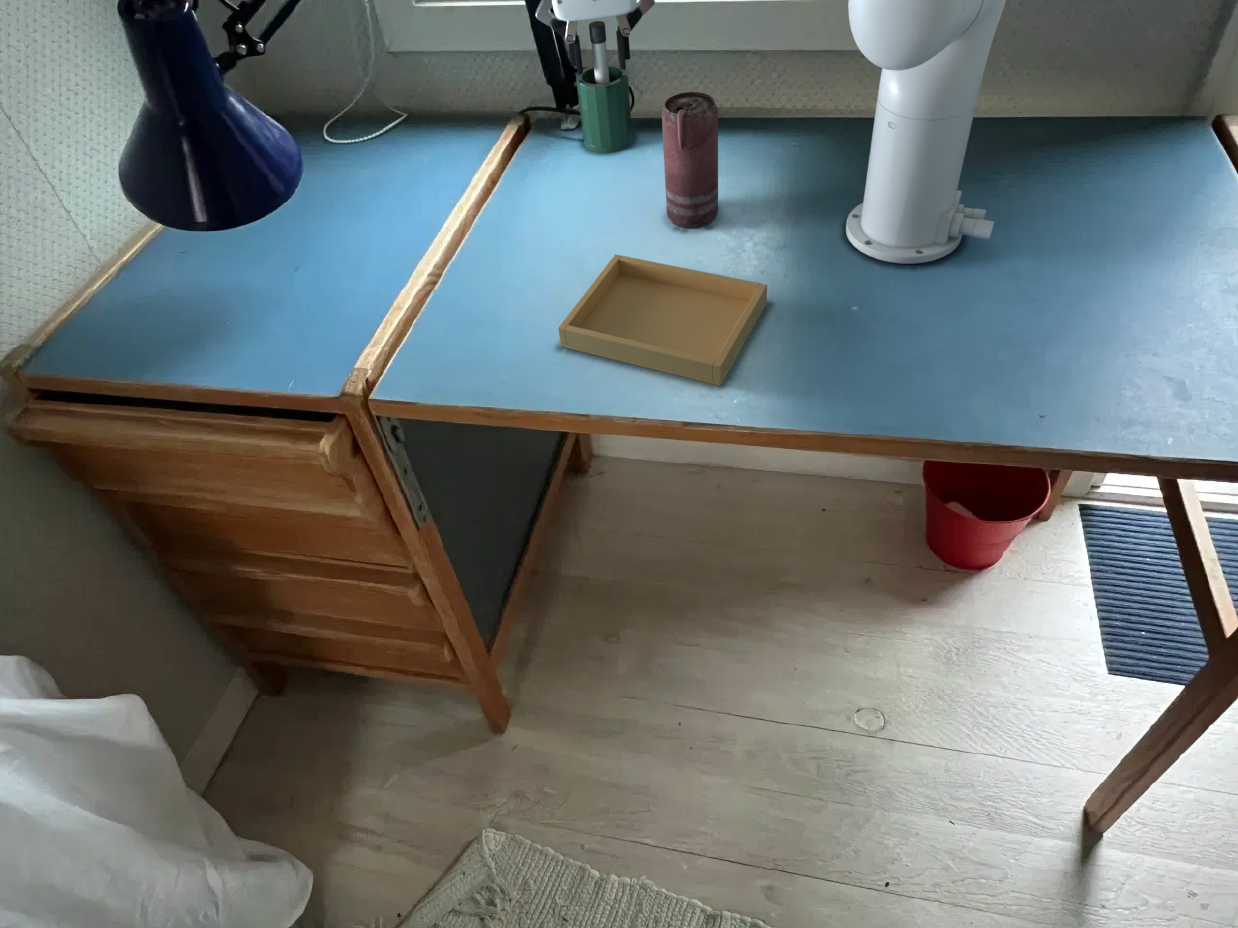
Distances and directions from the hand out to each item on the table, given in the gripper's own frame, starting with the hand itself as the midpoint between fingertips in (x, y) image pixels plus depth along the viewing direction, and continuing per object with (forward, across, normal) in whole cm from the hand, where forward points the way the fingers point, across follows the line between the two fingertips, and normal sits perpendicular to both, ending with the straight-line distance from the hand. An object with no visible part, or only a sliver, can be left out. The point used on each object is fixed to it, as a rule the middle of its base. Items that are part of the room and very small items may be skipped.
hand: (601, 66), depth 112 cm
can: (+10, +9, -21) cm, 25 cm away
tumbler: (+10, 0, 0) cm, 10 cm away
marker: (+9, 0, 0) cm, 9 cm away
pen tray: (+10, +3, -41) cm, 42 cm away
